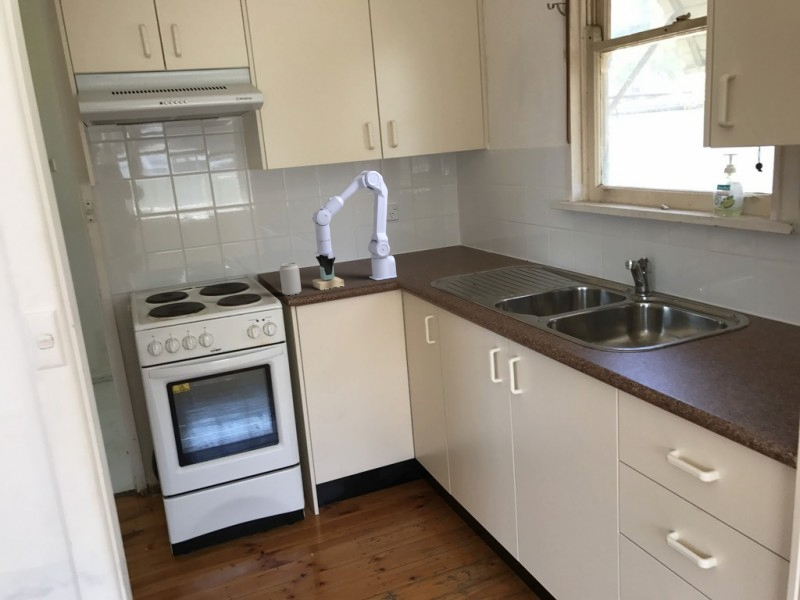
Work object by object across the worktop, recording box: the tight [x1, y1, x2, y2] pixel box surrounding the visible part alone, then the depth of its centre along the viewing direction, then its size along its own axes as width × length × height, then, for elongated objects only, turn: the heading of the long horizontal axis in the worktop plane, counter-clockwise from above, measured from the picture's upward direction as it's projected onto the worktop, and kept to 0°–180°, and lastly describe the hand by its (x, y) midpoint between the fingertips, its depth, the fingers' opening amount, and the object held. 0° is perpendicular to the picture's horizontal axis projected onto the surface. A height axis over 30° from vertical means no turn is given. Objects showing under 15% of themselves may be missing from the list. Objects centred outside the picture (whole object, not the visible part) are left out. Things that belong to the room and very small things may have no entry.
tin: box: [318, 265, 335, 280], centre depth 266 cm, size 4×4×5 cm
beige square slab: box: [311, 275, 345, 291], centre depth 267 cm, size 10×10×3 cm
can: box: [278, 262, 302, 296], centre depth 257 cm, size 8×8×12 cm
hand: (327, 273), depth 266 cm, fingers closed on tin, 4 cm apart
